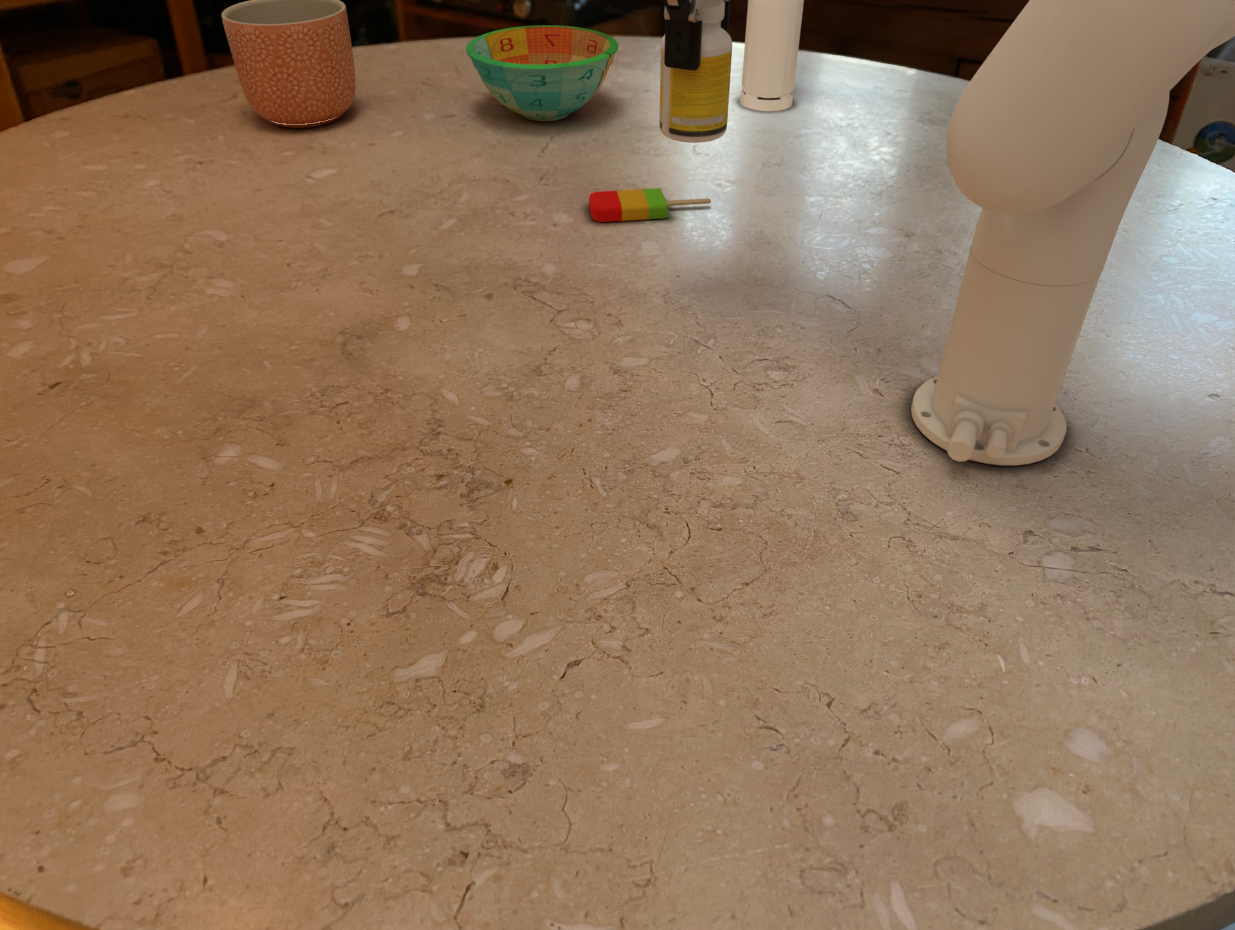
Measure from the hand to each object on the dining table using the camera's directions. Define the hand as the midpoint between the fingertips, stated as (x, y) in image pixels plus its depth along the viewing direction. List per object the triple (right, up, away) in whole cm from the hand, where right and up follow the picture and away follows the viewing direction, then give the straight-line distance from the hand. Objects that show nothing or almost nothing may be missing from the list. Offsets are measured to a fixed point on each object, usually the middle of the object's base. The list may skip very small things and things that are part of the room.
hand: (696, 55), depth 85 cm
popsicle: (-3, -6, +30) cm, 31 cm away
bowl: (-18, +16, +58) cm, 63 cm away
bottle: (+16, +19, +62) cm, 67 cm away
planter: (-54, +15, +57) cm, 80 cm away
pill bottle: (0, -6, +5) cm, 7 cm away
